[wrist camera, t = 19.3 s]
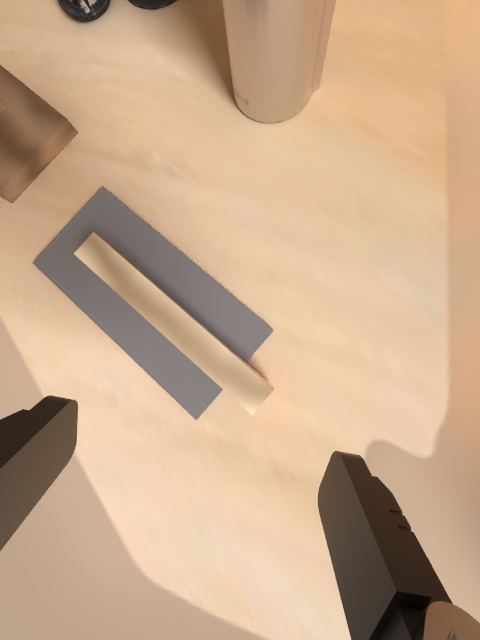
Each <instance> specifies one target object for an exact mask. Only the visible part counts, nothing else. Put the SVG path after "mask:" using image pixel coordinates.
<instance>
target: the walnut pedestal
mask: <svg viewBox="0 0 480 640" xmlns="http://www.w3.org/2000/svg"><path fill="white" fill-rule="evenodd" d="M77 133H78V132H77V131H76V129H75V128H74V127H73V126H72V125H71V123H70V122H69V121H68V120H67V119H66V118H65V117H64V116H62V115H61V114H60V113H59V112H57V111H56V110H55V109H54V108H53V107H51V106H50V105H49V104H48V103H46V102H45V101H44V100H43V99H41V98H40V97H39V96H38V95H37V94H35V93H34V92H33V91H32V90H30V89H29V88H28V87H27V86H25V85H24V84H23V83H22V82H20V81H19V80H18V79H17V78H16V77H14V76H13V75H12V74H11V73H9V72H8V71H7V70H6V69H4V68H3V67H2V66H1V65H0V196H1V197H3V198H4V199H6V200H8V201H9V202H11V203H13V202H14V201H15V200H16V199H17V198H18V196H19V195H20V194H21V193H22V192H23V191H24V190H25V189H26V188H27V187H28V186H29V185H30V184H31V182H32V181H33V180H34V179H35V178H36V177H37V176H38V175H39V174H40V173H41V172H42V171H43V170H44V169H45V167H46V166H47V165H48V164H49V163H50V162H51V161H52V160H53V159H54V158H55V157H56V156H57V155H58V153H59V152H60V151H61V150H62V149H63V148H64V147H65V146H66V145H67V144H68V143H69V142H70V141H71V140H72V138H73V137H74V136H75V135H76V134H77Z"/></svg>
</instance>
